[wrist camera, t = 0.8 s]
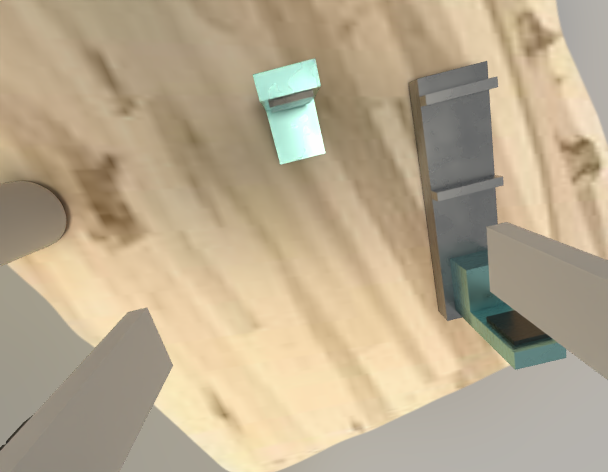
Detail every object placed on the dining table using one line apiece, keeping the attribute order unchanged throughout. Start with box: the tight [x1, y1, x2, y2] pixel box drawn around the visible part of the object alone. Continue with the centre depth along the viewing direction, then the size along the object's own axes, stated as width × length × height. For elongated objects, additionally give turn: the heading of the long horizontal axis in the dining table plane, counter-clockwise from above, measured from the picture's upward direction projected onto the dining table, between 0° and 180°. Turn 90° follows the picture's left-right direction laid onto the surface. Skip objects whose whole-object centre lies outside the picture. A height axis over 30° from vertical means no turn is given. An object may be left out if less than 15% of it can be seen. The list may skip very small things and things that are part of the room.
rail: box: [409, 61, 566, 369], centre depth 26 cm, size 24×6×11 cm, turn 14°
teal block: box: [253, 59, 325, 165], centre depth 24 cm, size 6×4×9 cm, turn 14°
